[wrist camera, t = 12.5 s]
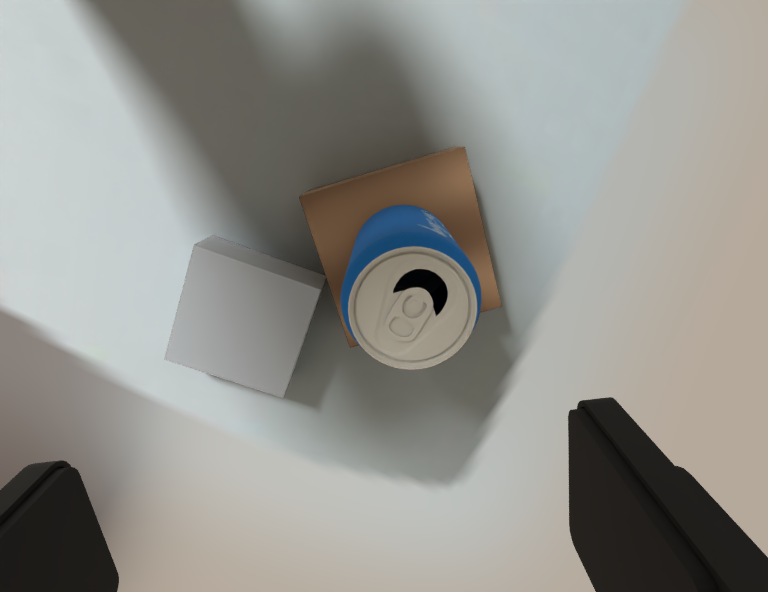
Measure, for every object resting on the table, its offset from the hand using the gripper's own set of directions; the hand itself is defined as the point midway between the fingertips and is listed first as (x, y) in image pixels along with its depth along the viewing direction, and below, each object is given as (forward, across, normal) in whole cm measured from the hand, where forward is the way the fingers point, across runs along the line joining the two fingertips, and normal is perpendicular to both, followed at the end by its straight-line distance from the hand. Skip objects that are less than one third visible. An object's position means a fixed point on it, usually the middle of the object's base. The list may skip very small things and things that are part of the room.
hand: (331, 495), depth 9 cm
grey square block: (+29, +10, +5) cm, 31 cm away
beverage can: (+24, -2, +1) cm, 24 cm away
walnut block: (+28, -2, +1) cm, 28 cm away
